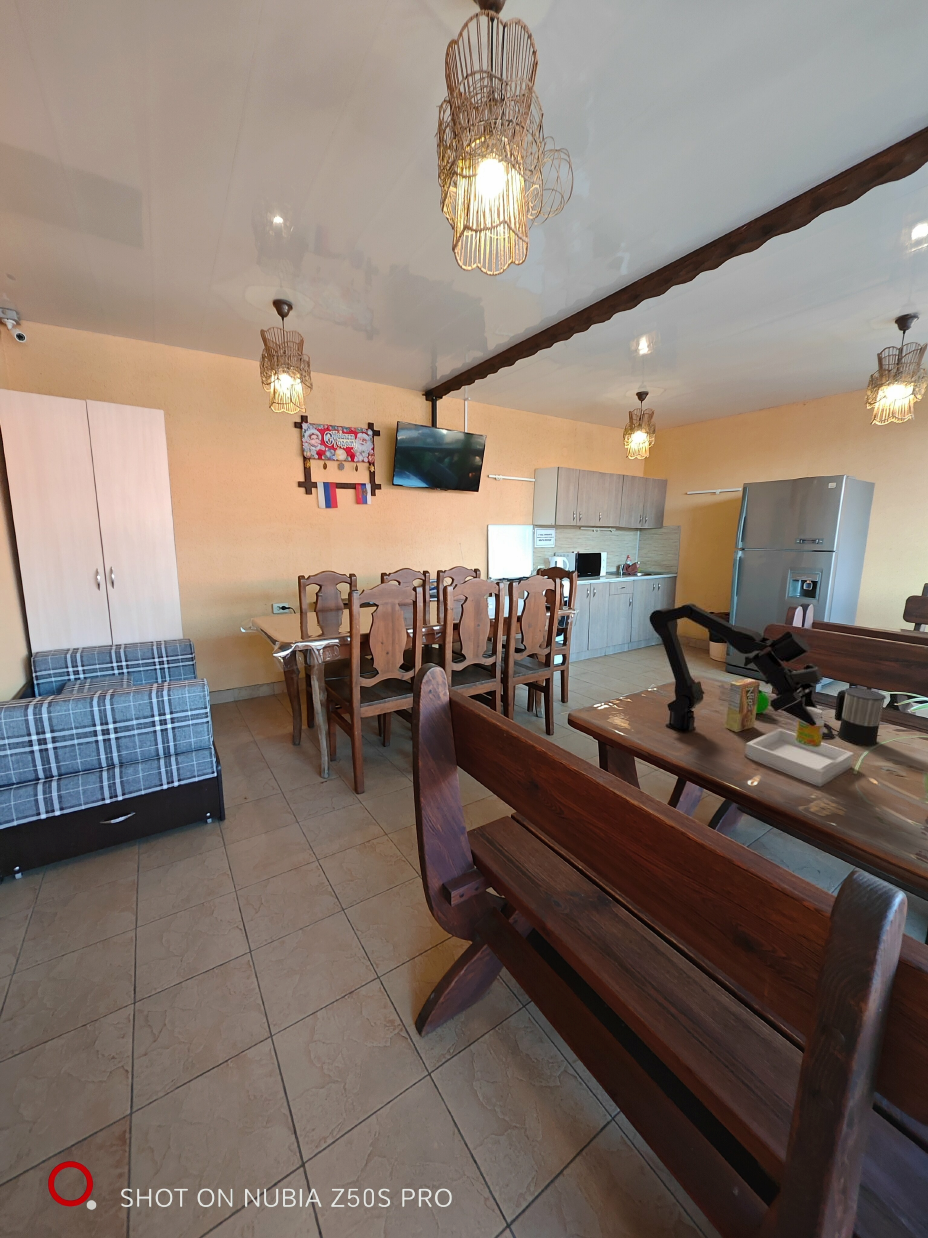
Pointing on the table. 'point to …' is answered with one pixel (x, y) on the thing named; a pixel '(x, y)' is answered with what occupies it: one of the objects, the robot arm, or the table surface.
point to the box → (799, 757)
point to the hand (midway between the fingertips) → (817, 722)
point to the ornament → (762, 702)
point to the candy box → (742, 704)
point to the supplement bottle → (810, 730)
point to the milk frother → (858, 716)
